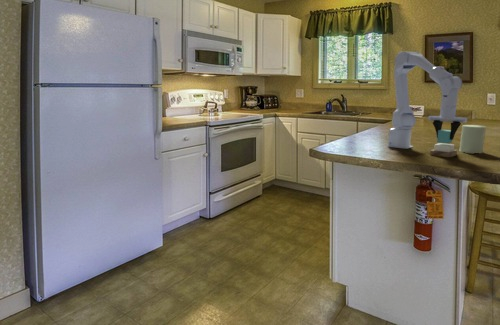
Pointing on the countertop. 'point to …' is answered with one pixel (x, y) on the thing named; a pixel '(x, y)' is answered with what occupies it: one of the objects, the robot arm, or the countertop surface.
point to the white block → (444, 147)
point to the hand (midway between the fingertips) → (445, 138)
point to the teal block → (444, 136)
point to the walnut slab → (443, 153)
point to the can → (472, 138)
